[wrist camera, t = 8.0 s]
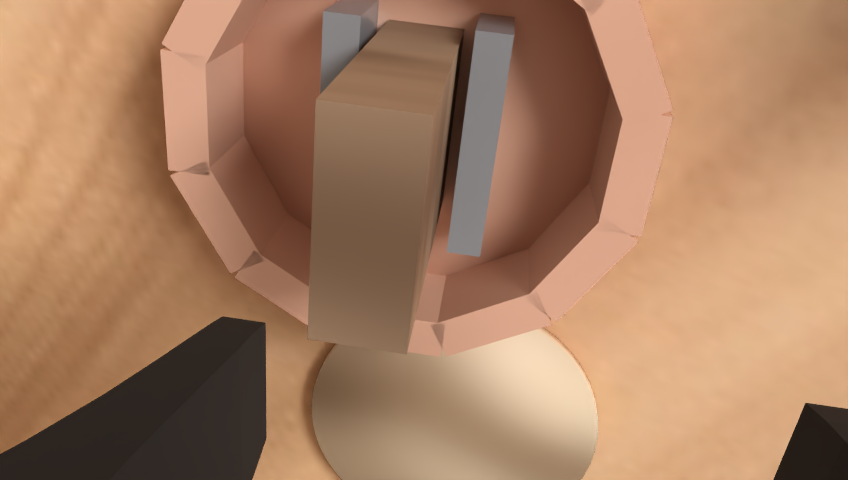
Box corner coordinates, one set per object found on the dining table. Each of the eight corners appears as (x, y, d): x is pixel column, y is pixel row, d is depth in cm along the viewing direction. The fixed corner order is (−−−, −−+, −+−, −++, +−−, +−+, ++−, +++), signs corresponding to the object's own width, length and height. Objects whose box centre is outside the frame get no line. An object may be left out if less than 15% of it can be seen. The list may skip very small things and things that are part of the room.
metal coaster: (566, 540, 25) (567, 550, 24) (310, 497, 25) (307, 506, 25) (626, 322, 21) (628, 330, 20) (319, 276, 21) (315, 283, 21)
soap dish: (594, 320, 21) (605, 385, 18) (216, 264, 21) (174, 319, 19) (701, -109, 16) (738, -107, 13) (202, -165, 16) (140, -173, 14)
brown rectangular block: (443, 198, 19) (407, 353, 13) (376, 189, 19) (306, 339, 13) (464, 29, 17) (434, 115, 11) (389, 19, 17) (315, 99, 11)
